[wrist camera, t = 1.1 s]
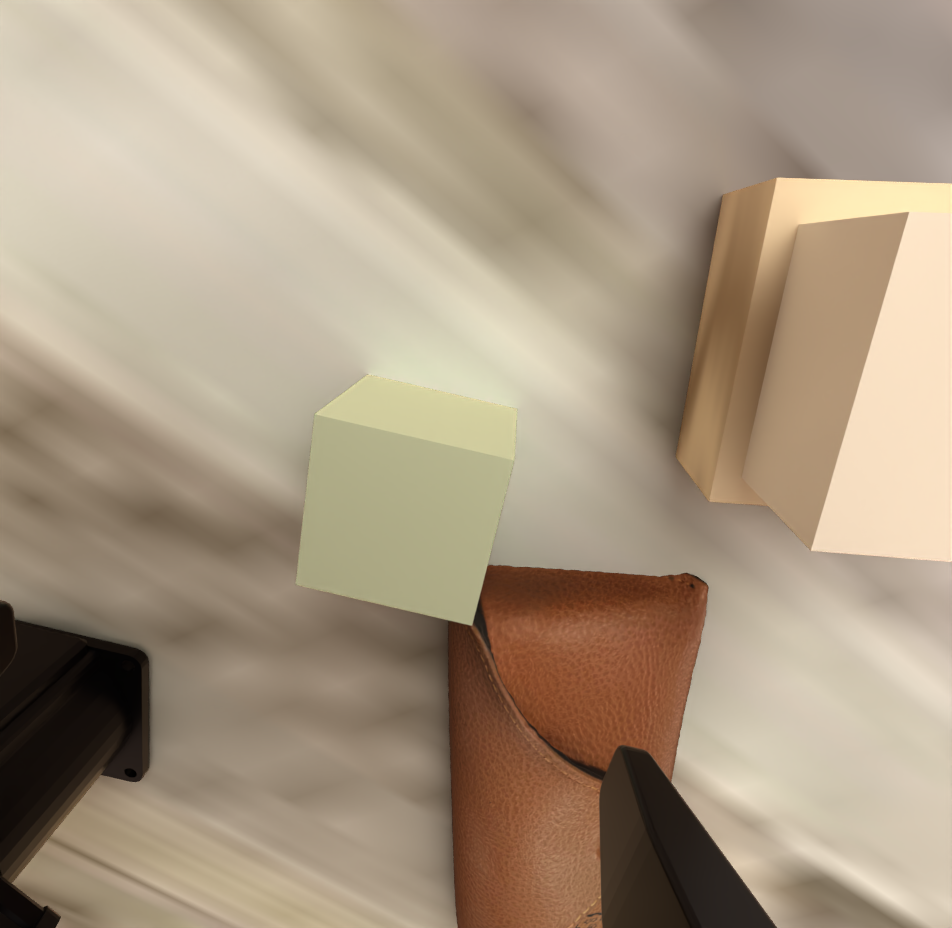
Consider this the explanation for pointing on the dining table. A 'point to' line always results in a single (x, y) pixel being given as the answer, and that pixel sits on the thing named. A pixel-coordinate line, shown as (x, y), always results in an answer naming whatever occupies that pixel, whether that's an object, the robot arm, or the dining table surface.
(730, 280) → the tower base
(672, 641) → the sunglasses case
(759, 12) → the dining table surface
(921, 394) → the tower mid
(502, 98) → the dining table surface
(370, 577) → the sage cube
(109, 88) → the dining table surface
